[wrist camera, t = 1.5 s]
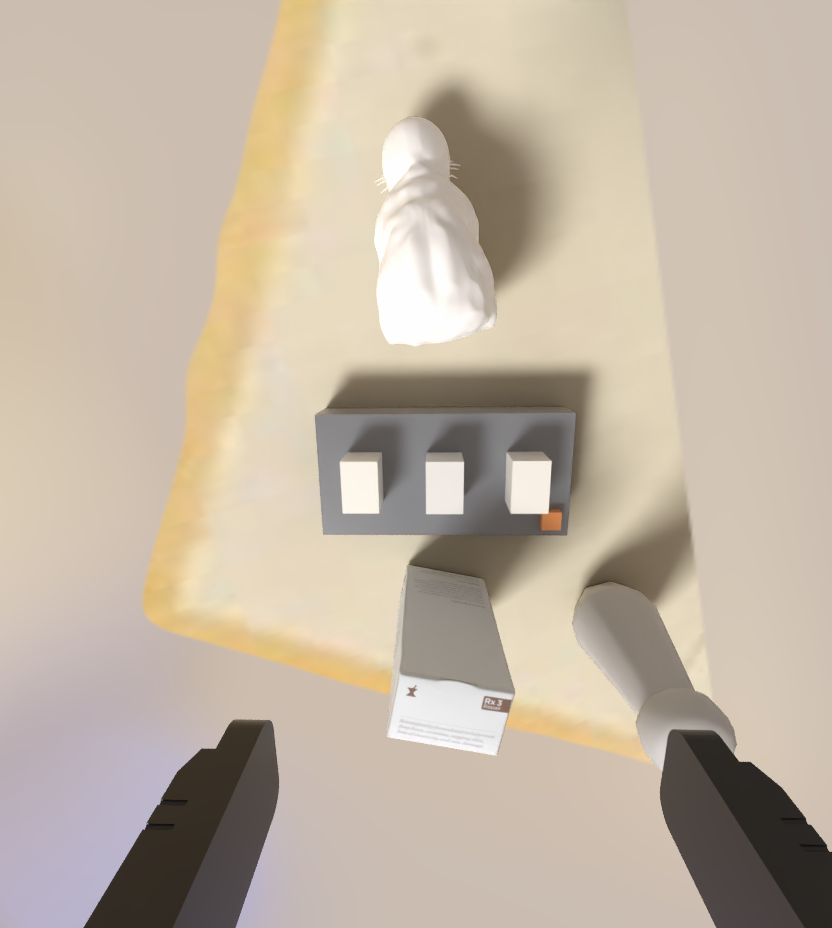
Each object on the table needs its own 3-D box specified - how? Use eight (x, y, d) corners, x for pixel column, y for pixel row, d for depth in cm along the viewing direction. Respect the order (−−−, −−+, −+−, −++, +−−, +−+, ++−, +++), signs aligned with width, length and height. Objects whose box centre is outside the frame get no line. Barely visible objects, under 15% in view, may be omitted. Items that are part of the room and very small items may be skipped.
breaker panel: (325, 408, 32) (304, 421, 26) (562, 406, 31) (588, 419, 26) (332, 518, 34) (314, 550, 28) (555, 518, 33) (578, 551, 28)
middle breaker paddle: (426, 452, 29) (425, 461, 27) (461, 452, 29) (463, 461, 26) (426, 500, 30) (425, 514, 27) (461, 500, 30) (463, 514, 27)
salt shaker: (644, 568, 34) (769, 702, 21) (642, 637, 35) (759, 801, 23) (563, 574, 34) (638, 709, 21) (564, 641, 35) (636, 806, 23)
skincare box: (397, 611, 35) (378, 744, 24) (407, 559, 34) (393, 671, 23) (476, 626, 35) (497, 766, 24) (489, 573, 34) (517, 694, 23)
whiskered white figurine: (376, 348, 22) (330, 69, 20) (394, 359, 30) (363, 163, 29) (509, 326, 21) (475, 38, 20) (490, 343, 30) (465, 143, 28)
